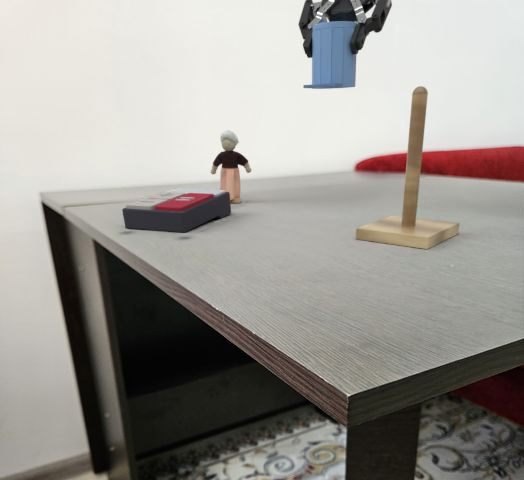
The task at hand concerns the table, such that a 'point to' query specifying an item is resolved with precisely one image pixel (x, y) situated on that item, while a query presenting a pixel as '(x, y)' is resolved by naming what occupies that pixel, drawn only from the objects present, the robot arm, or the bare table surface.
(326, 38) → the blue ribbed waste bin
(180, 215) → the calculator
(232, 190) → the grandmother figurine
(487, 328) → the table surface
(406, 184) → the hat stand
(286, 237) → the table surface
